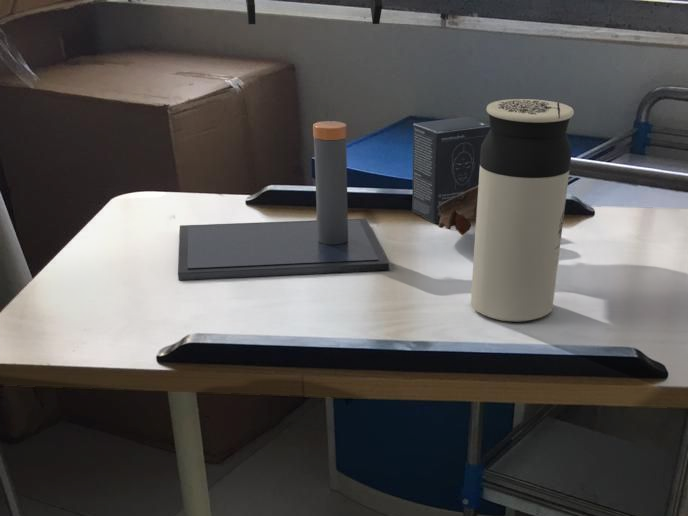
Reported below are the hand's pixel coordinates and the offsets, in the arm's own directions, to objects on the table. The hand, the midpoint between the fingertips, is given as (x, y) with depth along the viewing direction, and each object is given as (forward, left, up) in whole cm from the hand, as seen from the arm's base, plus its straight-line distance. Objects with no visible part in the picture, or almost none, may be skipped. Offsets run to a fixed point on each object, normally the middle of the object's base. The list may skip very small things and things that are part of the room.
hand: (315, 15), depth 96 cm
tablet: (-6, -11, -22) cm, 25 cm away
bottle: (0, -11, -21) cm, 23 cm away
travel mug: (+15, -31, -22) cm, 40 cm away
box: (+16, 0, -22) cm, 27 cm away
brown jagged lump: (+18, -12, -22) cm, 31 cm away
